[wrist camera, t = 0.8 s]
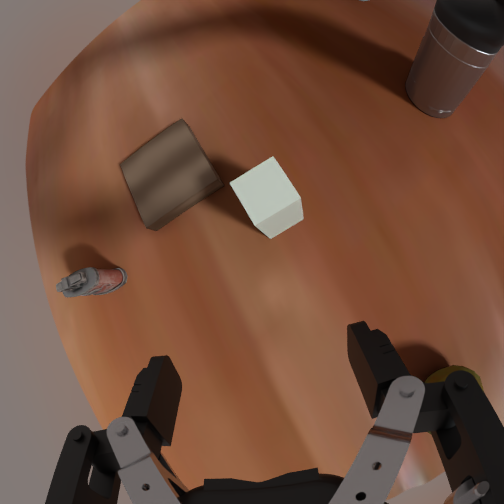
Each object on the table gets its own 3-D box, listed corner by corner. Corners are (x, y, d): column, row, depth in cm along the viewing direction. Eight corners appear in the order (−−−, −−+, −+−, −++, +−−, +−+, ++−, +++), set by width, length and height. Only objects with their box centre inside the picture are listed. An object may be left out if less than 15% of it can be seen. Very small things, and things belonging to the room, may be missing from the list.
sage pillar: (251, 207, 38) (229, 182, 27) (283, 187, 38) (273, 156, 27) (270, 238, 37) (254, 225, 27) (303, 219, 37) (300, 198, 26)
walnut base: (130, 170, 43) (120, 164, 40) (189, 126, 41) (181, 118, 38) (156, 230, 41) (146, 228, 38) (224, 185, 39) (217, 179, 36)
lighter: (95, 298, 43) (52, 302, 33) (90, 279, 43) (47, 279, 33) (129, 284, 41) (86, 287, 31) (124, 264, 42) (80, 261, 32)
